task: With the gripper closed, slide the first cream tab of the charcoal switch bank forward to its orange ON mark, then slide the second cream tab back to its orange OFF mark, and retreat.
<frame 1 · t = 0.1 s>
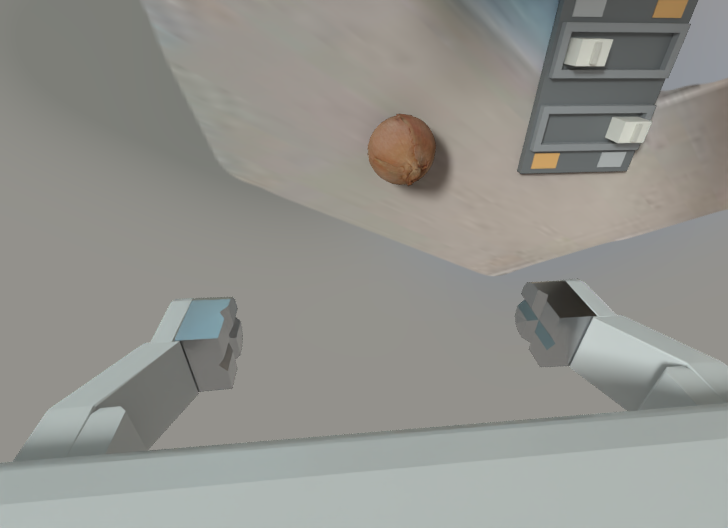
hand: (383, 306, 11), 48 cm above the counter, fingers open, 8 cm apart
onion: (396, 140, 56), on the counter
tab 2: (629, 130, 55), point 3 cm above the counter, slide at 10.0 cm
switch bank: (596, 89, 55), on the counter
tab 1: (588, 52, 49), point 3 cm above the counter, slide at 0.0 cm
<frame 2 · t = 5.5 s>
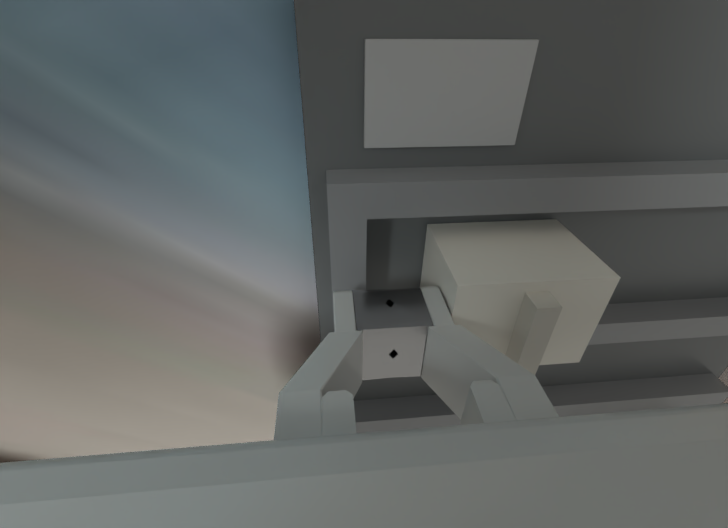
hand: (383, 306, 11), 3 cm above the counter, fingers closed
switch bank: (531, 337, 16), on the counter
tab 1: (505, 298, 11), point 3 cm above the counter, slide at 1.4 cm, touching gripper
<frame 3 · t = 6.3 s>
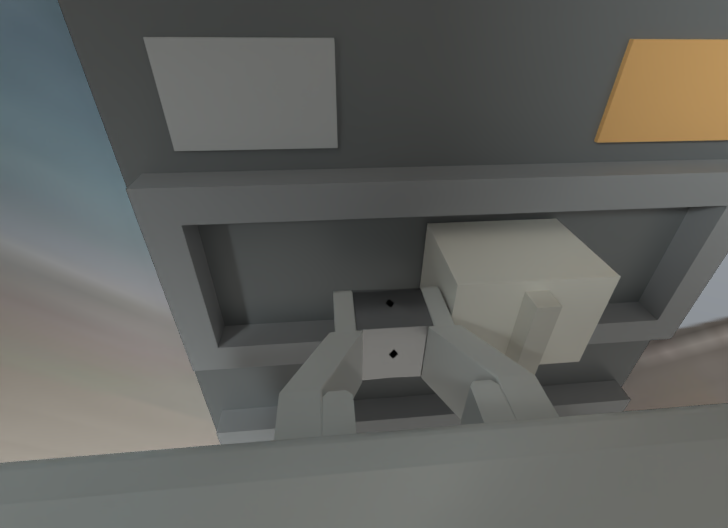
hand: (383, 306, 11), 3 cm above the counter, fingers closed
switch bank: (425, 343, 16), on the counter
tab 1: (505, 297, 11), point 3 cm above the counter, slide at 6.1 cm, touching gripper
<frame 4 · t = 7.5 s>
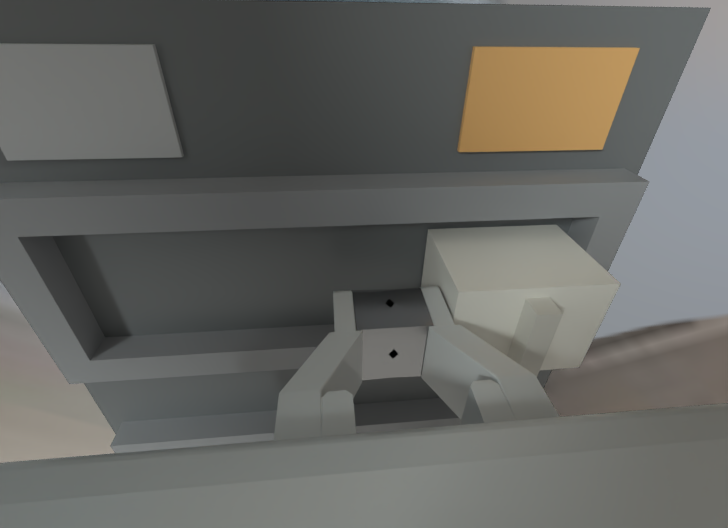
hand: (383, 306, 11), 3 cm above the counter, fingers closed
switch bank: (334, 353, 16), on the counter
tab 1: (506, 303, 11), point 3 cm above the counter, slide at 9.9 cm, touching gripper
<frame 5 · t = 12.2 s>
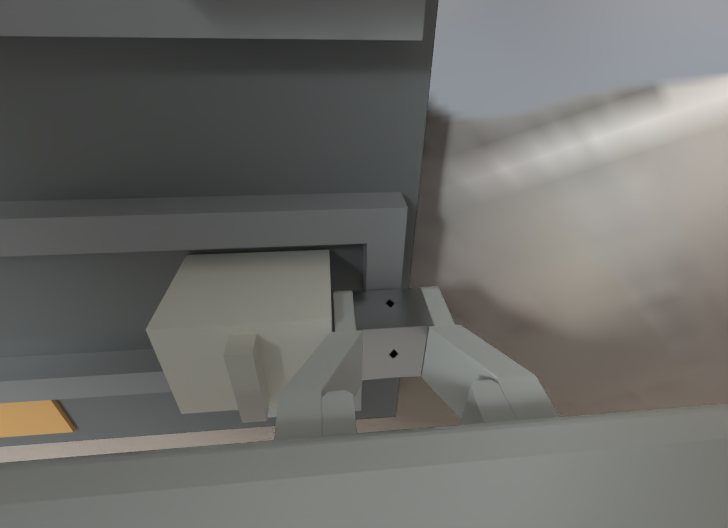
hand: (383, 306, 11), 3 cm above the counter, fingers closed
tab 2: (257, 334, 10), point 3 cm above the counter, slide at 9.5 cm, touching gripper
switch bank: (64, 114, 9), on the counter
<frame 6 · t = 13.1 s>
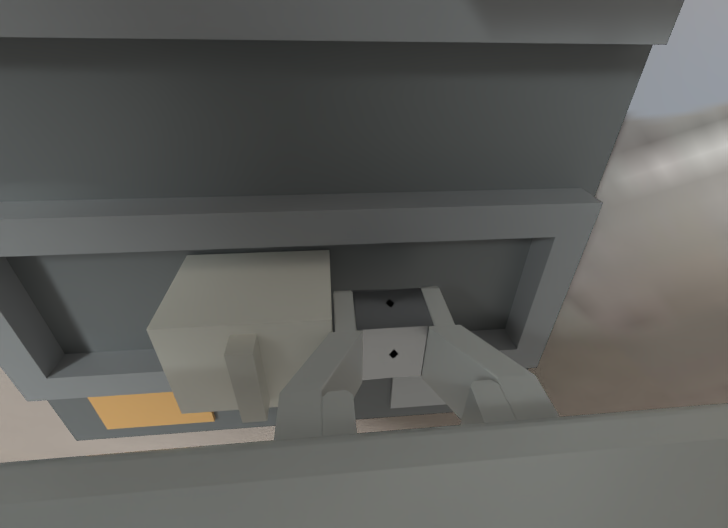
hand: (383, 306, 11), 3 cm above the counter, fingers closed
tab 2: (258, 335, 10), point 3 cm above the counter, slide at 4.3 cm, touching gripper
switch bank: (275, 113, 10), on the counter
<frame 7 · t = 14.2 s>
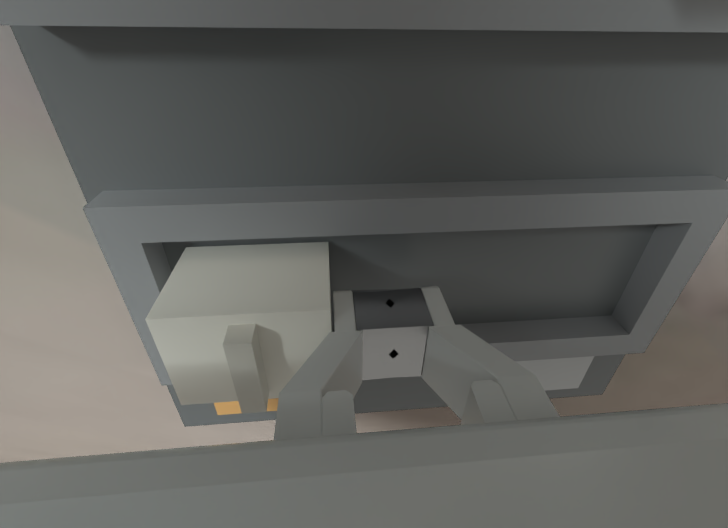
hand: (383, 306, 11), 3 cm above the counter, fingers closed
tab 2: (257, 326, 10), point 3 cm above the counter, slide at 0.2 cm, touching gripper
switch bank: (426, 103, 10), on the counter
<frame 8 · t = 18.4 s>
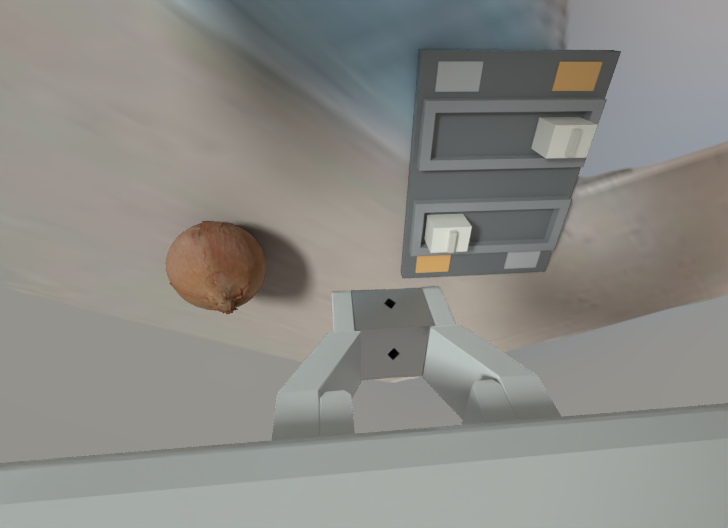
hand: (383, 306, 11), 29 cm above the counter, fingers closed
onion: (227, 243, 42), on the counter
tab 2: (447, 234, 40), point 3 cm above the counter, slide at 0.1 cm
switch bank: (490, 177, 40), on the counter
tab 1: (564, 138, 35), point 3 cm above the counter, slide at 9.9 cm
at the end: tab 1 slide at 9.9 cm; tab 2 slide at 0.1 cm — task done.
